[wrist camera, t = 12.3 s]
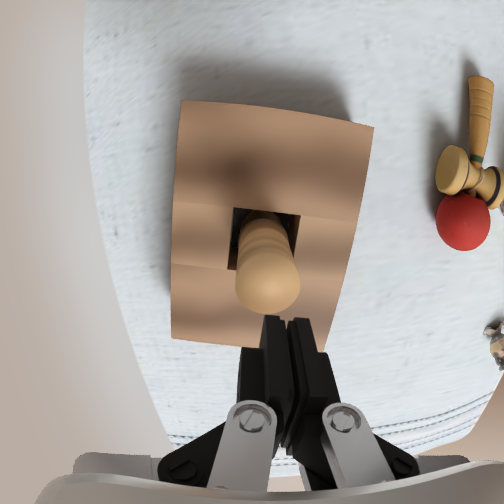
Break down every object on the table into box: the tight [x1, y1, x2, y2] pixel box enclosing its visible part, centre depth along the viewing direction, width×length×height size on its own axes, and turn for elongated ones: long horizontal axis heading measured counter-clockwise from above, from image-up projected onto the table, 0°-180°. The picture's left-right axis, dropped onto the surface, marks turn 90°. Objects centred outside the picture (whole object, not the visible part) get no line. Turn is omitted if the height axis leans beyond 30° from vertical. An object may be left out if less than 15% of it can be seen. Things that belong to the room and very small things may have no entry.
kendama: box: [435, 76, 504, 251], centre depth 24 cm, size 8×6×18 cm
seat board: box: [171, 100, 374, 352], centre depth 26 cm, size 20×14×5 cm
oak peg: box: [235, 210, 300, 314], centre depth 23 cm, size 4×4×12 cm
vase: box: [483, 322, 504, 371], centre depth 32 cm, size 5×5×6 cm
